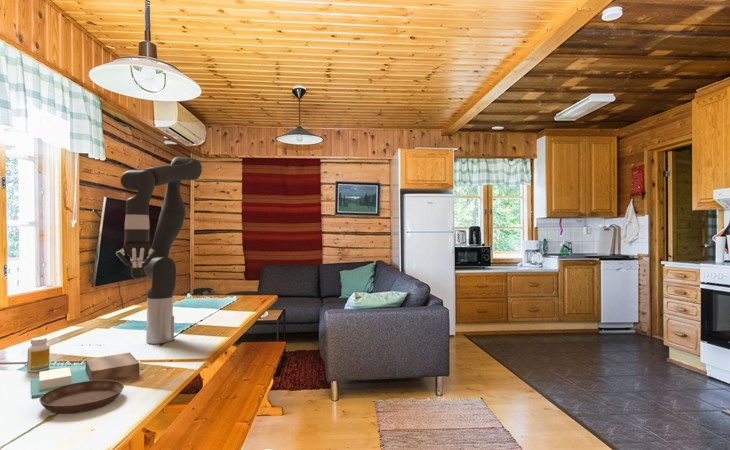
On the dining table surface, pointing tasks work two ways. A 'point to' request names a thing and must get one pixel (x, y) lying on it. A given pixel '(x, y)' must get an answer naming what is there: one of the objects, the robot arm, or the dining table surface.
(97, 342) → the dining table surface
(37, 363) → the supplement bottle
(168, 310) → the robot arm
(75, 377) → the mat
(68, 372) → the white block
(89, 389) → the plant saucer
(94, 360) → the bronze rectangular block
